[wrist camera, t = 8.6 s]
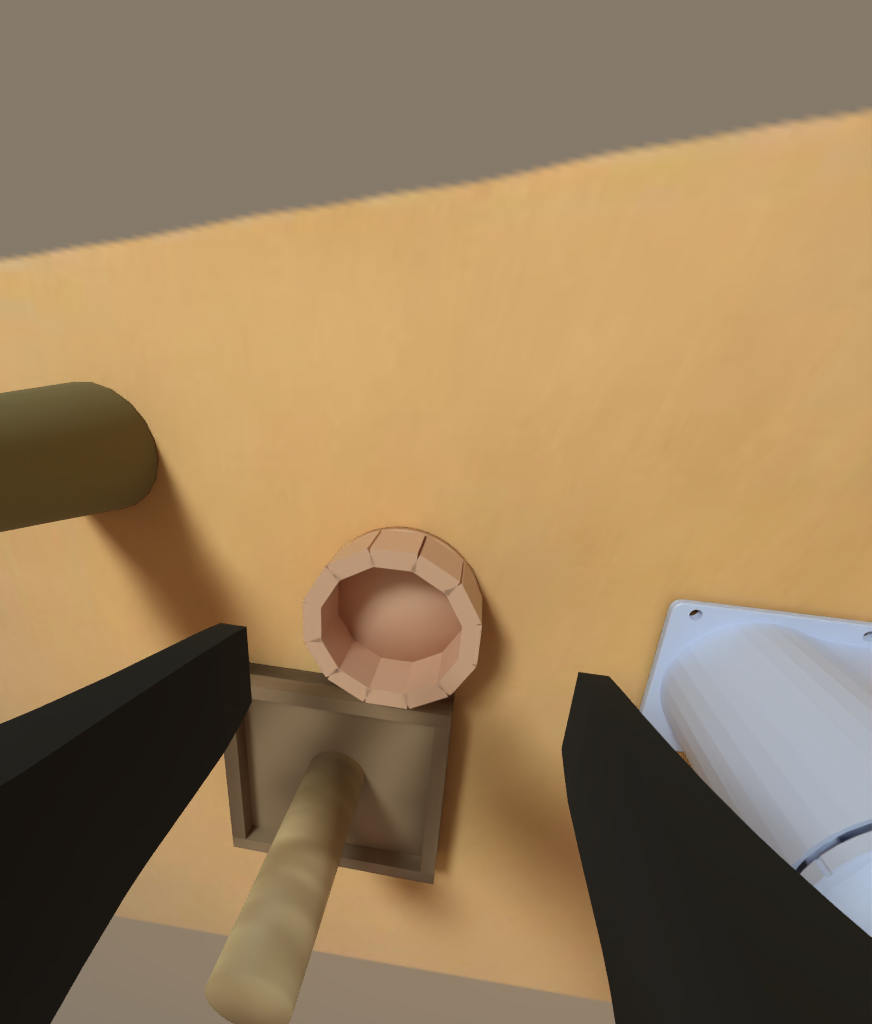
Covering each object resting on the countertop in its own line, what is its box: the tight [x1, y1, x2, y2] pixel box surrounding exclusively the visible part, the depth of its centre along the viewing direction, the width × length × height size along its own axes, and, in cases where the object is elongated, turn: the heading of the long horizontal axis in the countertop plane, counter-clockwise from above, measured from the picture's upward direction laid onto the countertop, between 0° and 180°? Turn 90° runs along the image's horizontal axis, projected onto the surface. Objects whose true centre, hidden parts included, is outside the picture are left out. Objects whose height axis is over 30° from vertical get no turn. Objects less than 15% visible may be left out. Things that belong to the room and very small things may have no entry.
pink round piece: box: [303, 527, 483, 709], centre depth 19 cm, size 8×8×3 cm
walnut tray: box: [224, 663, 454, 884], centre depth 23 cm, size 12×12×2 cm
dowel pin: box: [205, 751, 365, 1024], centre depth 19 cm, size 3×3×9 cm
